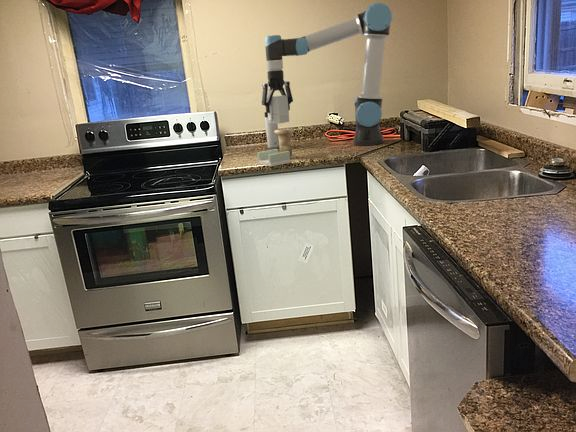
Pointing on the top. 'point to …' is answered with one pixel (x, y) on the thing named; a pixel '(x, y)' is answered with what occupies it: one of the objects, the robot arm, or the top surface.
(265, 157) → the green and white block
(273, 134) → the travel mug
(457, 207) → the top surface
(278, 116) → the supplement box
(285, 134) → the spool
